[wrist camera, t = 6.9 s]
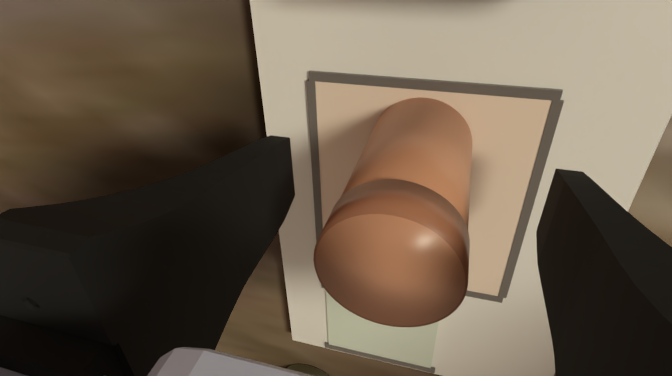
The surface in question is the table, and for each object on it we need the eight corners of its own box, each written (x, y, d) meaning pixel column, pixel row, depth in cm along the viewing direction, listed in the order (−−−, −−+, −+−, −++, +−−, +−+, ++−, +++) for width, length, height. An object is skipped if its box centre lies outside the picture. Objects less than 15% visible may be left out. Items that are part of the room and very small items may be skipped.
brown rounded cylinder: (465, 193, 14) (455, 340, 10) (368, 179, 15) (315, 309, 10) (482, 101, 13) (481, 227, 8) (372, 90, 13) (310, 199, 9)
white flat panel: (949, -550, 6) (996, -595, 6) (541, 387, 20) (543, 402, 19) (213, -392, 9) (194, -412, 9) (296, 330, 23) (291, 341, 22)
